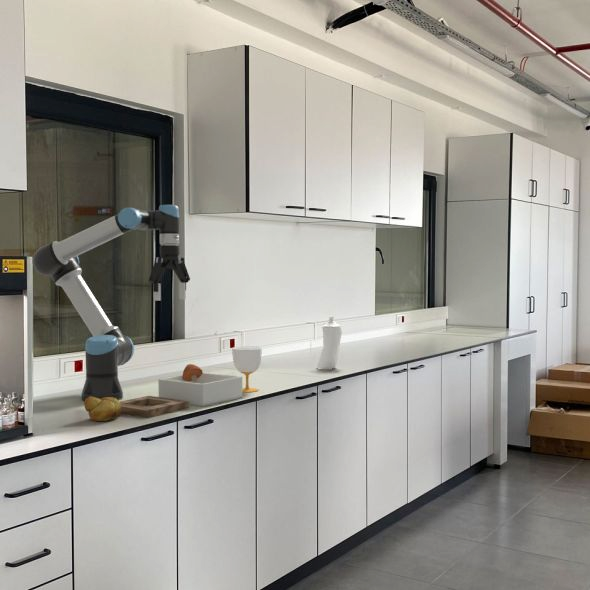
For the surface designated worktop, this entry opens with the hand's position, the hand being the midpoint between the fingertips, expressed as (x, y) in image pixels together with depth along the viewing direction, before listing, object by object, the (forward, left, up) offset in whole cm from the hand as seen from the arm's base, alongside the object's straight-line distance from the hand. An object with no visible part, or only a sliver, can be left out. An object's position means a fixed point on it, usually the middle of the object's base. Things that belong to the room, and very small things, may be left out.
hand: (170, 299), depth 293 cm
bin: (+10, -15, -37) cm, 41 cm away
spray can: (+79, +54, -37) cm, 103 cm away
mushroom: (+10, -15, -36) cm, 40 cm away
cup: (+30, 0, -37) cm, 48 cm away
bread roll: (-24, -43, -37) cm, 61 cm away
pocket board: (-10, -31, -37) cm, 49 cm away
